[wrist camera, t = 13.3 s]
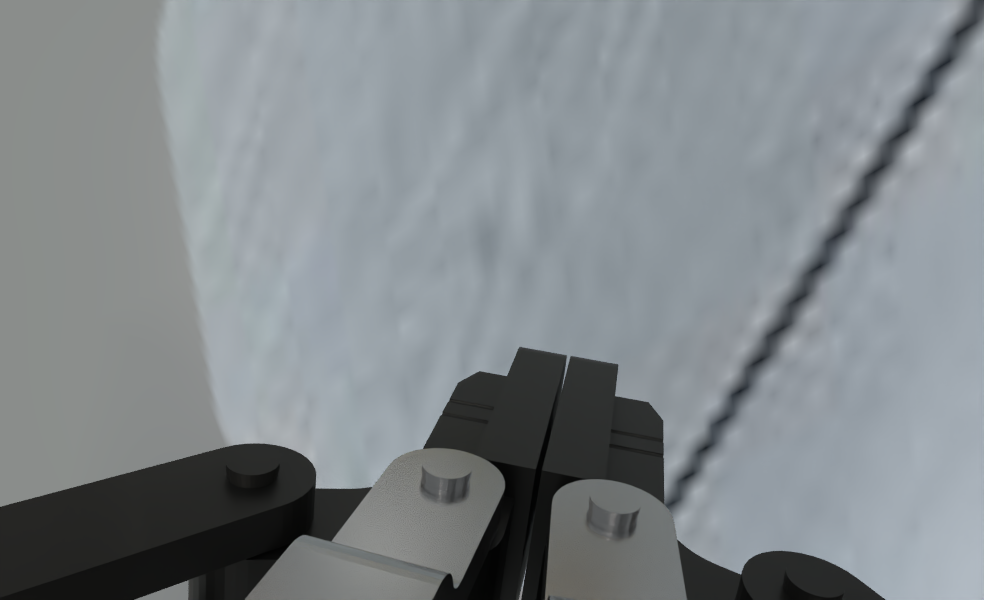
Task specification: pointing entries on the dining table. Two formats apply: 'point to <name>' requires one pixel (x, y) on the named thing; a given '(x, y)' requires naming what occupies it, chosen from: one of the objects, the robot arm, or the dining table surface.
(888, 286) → the dining table surface
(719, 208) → the dining table surface
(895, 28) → the dining table surface
